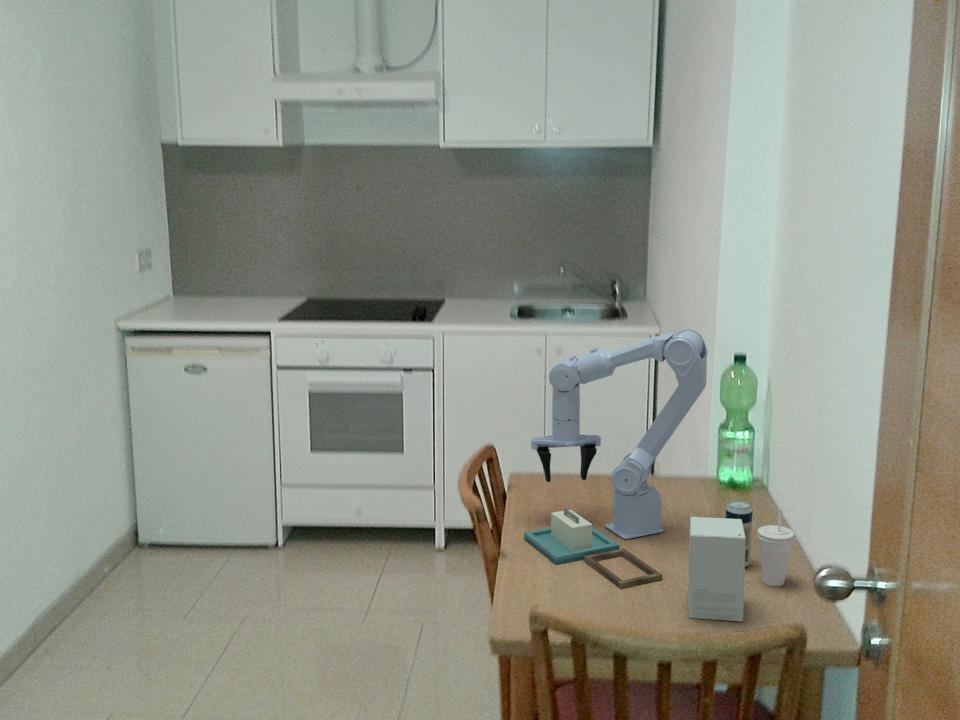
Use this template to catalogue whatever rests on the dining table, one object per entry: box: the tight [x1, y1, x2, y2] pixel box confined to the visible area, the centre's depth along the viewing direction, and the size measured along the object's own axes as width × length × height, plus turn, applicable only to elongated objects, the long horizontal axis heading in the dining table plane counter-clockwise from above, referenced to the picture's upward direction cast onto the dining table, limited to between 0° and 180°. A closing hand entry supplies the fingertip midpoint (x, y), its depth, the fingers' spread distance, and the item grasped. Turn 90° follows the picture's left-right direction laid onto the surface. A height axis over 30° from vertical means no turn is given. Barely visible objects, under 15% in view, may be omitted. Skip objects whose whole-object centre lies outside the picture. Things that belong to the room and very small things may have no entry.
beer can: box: [725, 500, 753, 568], centre depth 177 cm, size 5×5×12 cm
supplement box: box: [687, 516, 746, 623], centre depth 159 cm, size 9×9×15 cm
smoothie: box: [756, 507, 795, 587], centre depth 169 cm, size 6×6×14 cm
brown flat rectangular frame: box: [583, 548, 663, 589], centre depth 176 cm, size 9×13×1 cm, turn 23°
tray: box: [523, 526, 620, 566], centre depth 188 cm, size 14×14×2 cm
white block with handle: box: [550, 508, 593, 551], centre depth 187 cm, size 4×9×6 cm, turn 23°
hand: (565, 479), depth 198 cm, fingers open, 7 cm apart
